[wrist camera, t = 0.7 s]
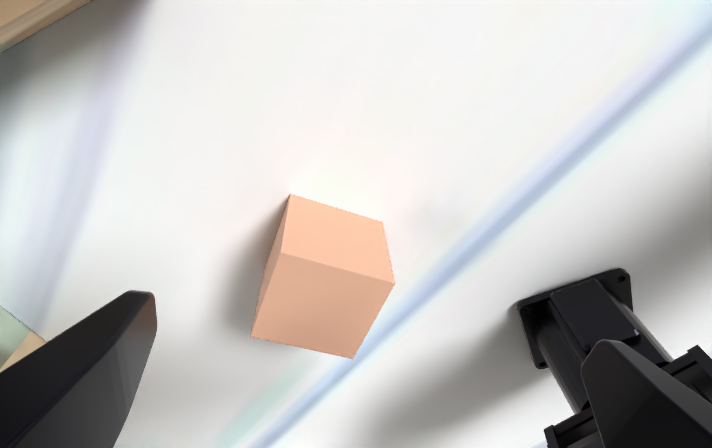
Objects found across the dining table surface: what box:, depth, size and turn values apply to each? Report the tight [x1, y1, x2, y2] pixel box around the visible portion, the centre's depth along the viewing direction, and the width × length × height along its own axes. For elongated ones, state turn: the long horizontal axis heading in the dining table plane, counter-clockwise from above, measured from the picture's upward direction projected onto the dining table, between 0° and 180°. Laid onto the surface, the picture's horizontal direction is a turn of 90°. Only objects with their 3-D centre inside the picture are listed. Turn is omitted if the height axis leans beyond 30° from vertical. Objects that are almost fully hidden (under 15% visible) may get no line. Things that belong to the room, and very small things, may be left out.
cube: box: [250, 194, 395, 359], centre depth 20 cm, size 5×5×5 cm
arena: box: [0, 0, 93, 372], centre depth 19 cm, size 21×21×4 cm
